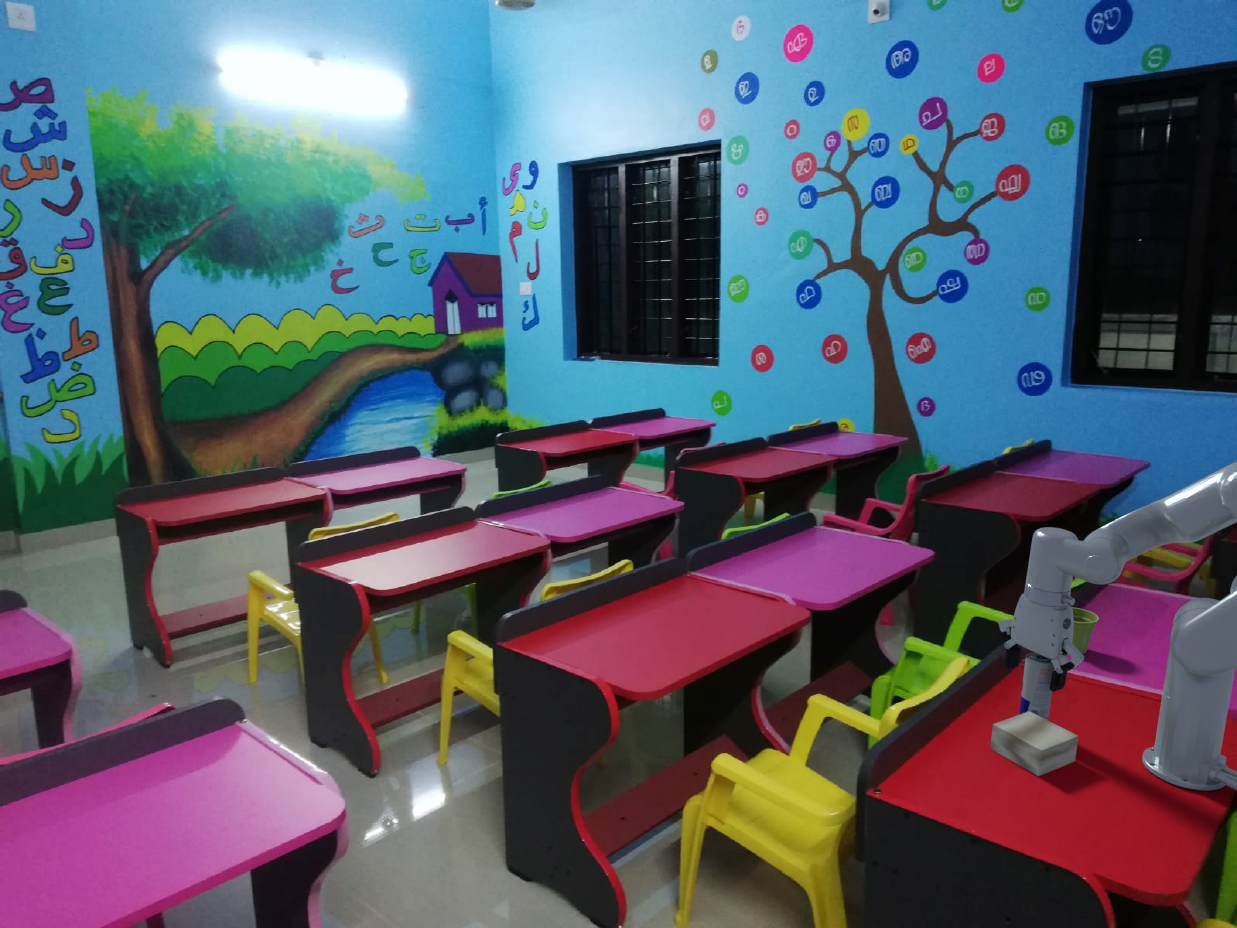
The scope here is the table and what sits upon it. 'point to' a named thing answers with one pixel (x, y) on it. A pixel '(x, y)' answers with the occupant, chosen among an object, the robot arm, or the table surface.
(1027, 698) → the beverage can
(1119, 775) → the table surface
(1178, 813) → the table surface
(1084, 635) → the plant pot
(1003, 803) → the table surface
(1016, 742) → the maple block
